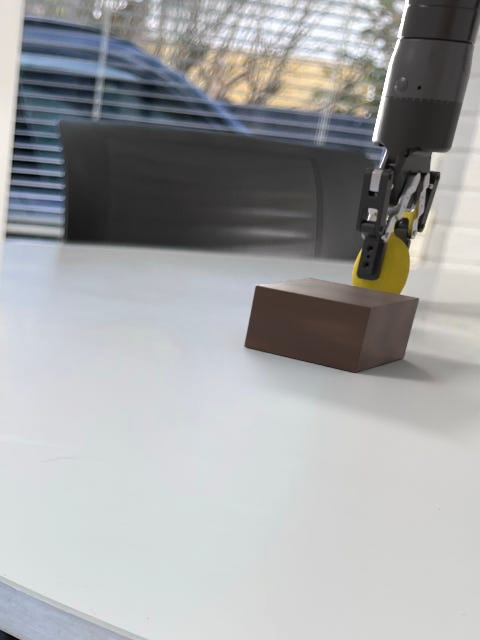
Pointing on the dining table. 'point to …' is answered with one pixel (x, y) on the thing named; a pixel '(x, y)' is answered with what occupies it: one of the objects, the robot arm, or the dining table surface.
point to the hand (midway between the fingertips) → (379, 276)
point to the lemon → (388, 268)
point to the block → (330, 323)
